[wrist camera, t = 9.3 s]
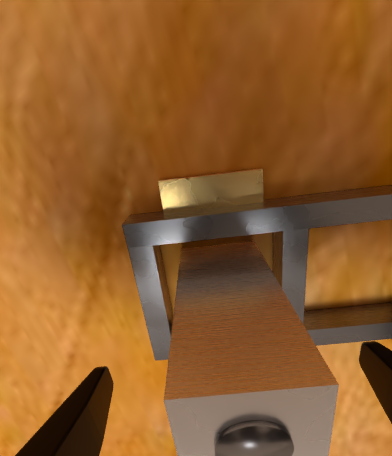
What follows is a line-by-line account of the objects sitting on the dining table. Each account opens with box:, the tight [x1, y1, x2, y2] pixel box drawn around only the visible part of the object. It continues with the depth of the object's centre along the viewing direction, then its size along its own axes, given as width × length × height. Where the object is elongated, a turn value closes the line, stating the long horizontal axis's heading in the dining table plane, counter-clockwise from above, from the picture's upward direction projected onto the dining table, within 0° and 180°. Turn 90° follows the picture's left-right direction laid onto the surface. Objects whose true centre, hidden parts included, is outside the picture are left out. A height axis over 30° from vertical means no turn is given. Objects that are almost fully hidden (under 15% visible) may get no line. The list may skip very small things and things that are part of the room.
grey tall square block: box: [164, 241, 339, 456], centre depth 10 cm, size 4×4×8 cm
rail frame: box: [122, 168, 392, 360], centre depth 12 cm, size 23×10×2 cm, turn 97°
